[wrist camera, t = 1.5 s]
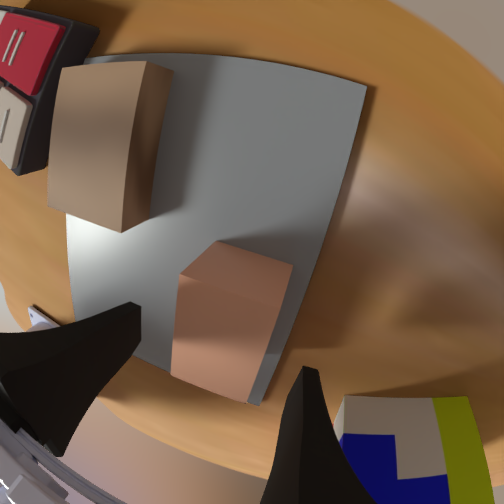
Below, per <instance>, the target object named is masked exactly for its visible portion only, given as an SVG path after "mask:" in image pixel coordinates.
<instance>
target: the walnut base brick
mask: <svg viewBox="0 0 504 504" xmlns="http://www.w3.org/2000/svg"><path fill="white" fill-rule="evenodd" d="M173 74H174V71H173V70H170V69H167V68H165V67H162V66H159V65H156V64H154V63H151V62H148V61H128V62H110V63H98V64H88V65H80V66H72V67H65V68H62V70H61V75H60V80H59V85H58V90H57V95H56V101H55V107H54V114H53V121H52V129H51V138H50V149H49V164H48V207H51V208H54V209H56V210H59V211H62V212H64V213H67V214H69V215H72V216H75V217H77V218H80V219H83V220H86V221H88V222H91V223H94V224H96V225H99V226H102V227H105V228H107V229H110V230H113V231H116V232H118V233H123V232H125V231H127V230H129V229H131V228H133V227H135V226H137V225H139V224H141V223H143V222H145V221H147V220H149V213H150V204H151V195H152V187H153V180H154V172H155V166H156V159H157V153H158V147H159V141H160V135H161V130H162V125H163V119H164V114H165V109H166V105H167V100H168V95H169V91H170V87H171V82H172V78H173Z"/></svg>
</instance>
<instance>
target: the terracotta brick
mask: <svg viewBox="0 0 504 504" xmlns="http://www.w3.org/2000/svg"><path fill="white" fill-rule="evenodd" d="M292 268H293V265H292V264H288V263H285V262H282V261H279V260H276V259H273V258H269V257H266V256H263V255H260V254H257V253H253V252H250V251H247V250H244V249H241V248H237V247H234V246H231V245H228V244H225V243H222V242H218V241H215V242H214V243H213V244H212V245H211V246H209V247H208V248H207V249H206V250H205V251H204V252H203V253H202V254H201V255H200V256H198V257H197V258H196V259H195V260H194V261H193V262H192V263H191V264H190V265H189V266H188V267H187V268H185V269H184V270H183V271H182V272H181V273H180V274H179V283H178V292H177V301H176V311H175V321H174V333H173V345H172V359H171V375H172V376H174V377H176V378H178V379H181V380H183V381H186V382H188V383H190V384H193V385H195V386H198V387H200V388H203V389H205V390H208V391H211V392H213V393H216V394H219V395H221V396H224V397H227V398H230V399H233V400H235V401H238V402H241V403H244V404H246V402H247V399H248V397H249V394H250V392H251V389H252V386H253V384H254V381H255V378H256V376H257V373H258V370H259V368H260V365H261V362H262V360H263V357H264V354H265V351H266V349H267V346H268V343H269V340H270V337H271V334H272V332H273V329H274V326H275V323H276V320H277V317H278V314H279V311H280V309H281V305H282V302H283V299H284V295H285V292H286V289H287V285H288V282H289V279H290V275H291V272H292Z"/></svg>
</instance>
